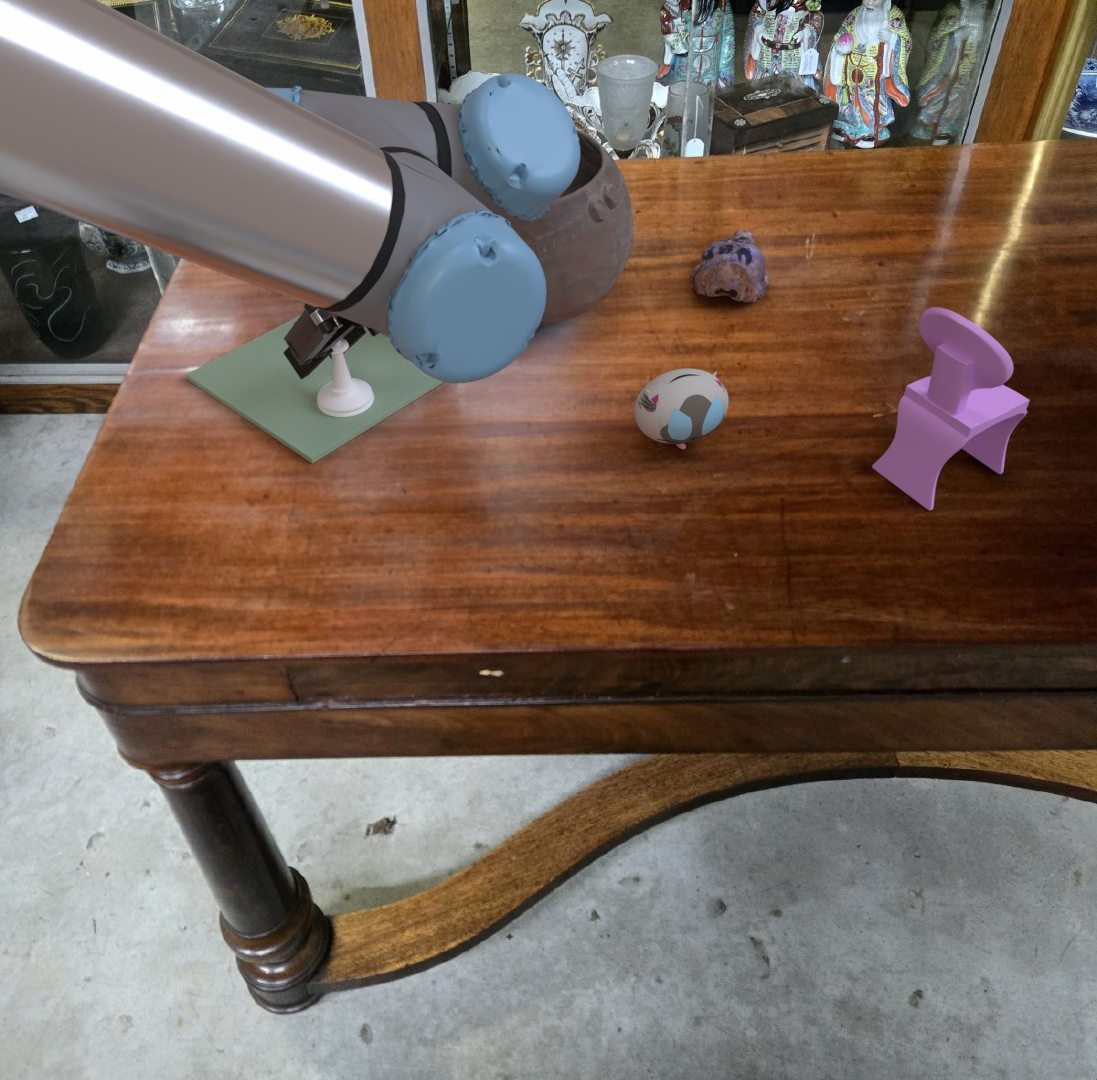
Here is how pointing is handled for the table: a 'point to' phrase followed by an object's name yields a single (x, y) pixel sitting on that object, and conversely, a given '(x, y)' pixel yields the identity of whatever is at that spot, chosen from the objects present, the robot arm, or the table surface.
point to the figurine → (681, 406)
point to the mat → (309, 389)
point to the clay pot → (583, 235)
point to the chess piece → (344, 388)
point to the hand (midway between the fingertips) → (311, 355)
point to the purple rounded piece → (732, 269)
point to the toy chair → (952, 406)
